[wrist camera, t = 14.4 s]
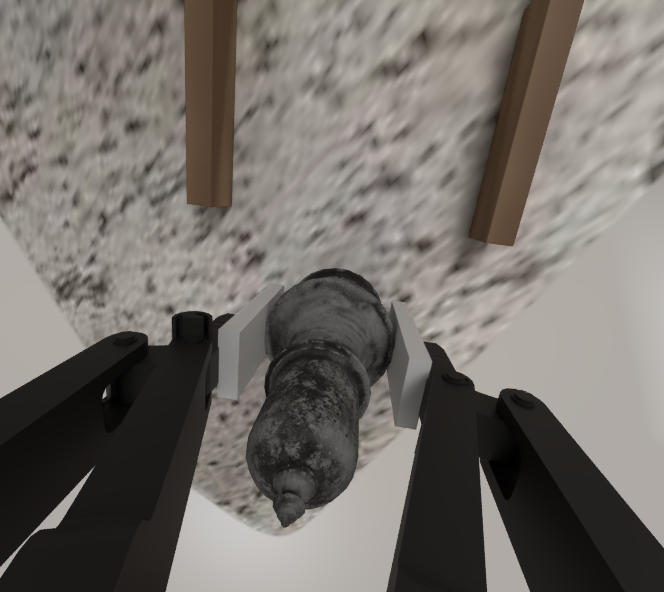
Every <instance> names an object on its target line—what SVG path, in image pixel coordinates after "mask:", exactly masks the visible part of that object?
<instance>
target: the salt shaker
mask: <svg viewBox="0 0 664 592" xmlns="http://www.w3.org/2000/svg"><path fill="white" fill-rule="evenodd" d="M394 343H395V341H394V328H393V326H392V323H391V320H390V317H389V315H388V312H387V311H386V310H385V308H384V307H383V305H382V304H381V301H380V299H379V296H378V294H377V292H376V291H375V289H374V288H373V287H372V285H371V284H370V283H369V282H368V281H366V280H365V279H364V278H363V277H361V276H360V275H358V274H356V273H353V272H351V271H349V270H344V269H338V268H332V269H323V270H320V271H317V272H315V273H312V274H310V275H309V276H307V277H306V278H305V279H303V280H302V281H301V282H300V283H299V284H297V285H295V286H293V287H292V288H291V289H289V290H288V291H287V292H285V293H284V294H282V295H281V297H280V298H279V299H278V300H277V302H276V303H275V304H274V306H273V307H272V308H271V311H270V313H269V316H268V318H267V321H266V327H265V346H266V351H267V355H268V357H269V359H270V361H271V363H270V366H269V368H268V370H267V373H266V376H265V386H264V388H265V394H266V400H265V402H264V404H263V406H262V408H261V410H260V412H259V414H258V416H257V419H256V421H255V423H254V425H253V427H252V429H251V432H250V434H249V436H248V442H247V450H246V460H247V465H248V469H249V472H250V474H251V476H252V478H253V480H254V482H255V484H256V486H257V487H258V489H259V490H260V491H261V492H262V493H263V494H264V495H265V496H266V497H268V498H269V499H271V500H272V501H273V508H274V510H275V512H276V514H277V517H278V519H279V521H280V522H281V525H282V526H283V527H288V526H289V524H292V523H294V522H295V521H296V520H297V519H298V518H300V517H301V516H302V515H303V514H304V513H305V509H313V508H318V507H322V506H324V505H326V504H327V503H329V502H331V501H333V500H334V499H335V498H336V497H338V496H339V495H340V494H341V493H342V492H343V491H344V490H345V489H346V488H347V487H348V485H349V483H350V482H351V480H352V478H353V476H354V472H355V469H356V465H357V460H358V432H359V419H360V418H361V417H362V416H363V414H364V412H365V411H366V409H367V407H368V404H369V399H370V395H371V390H370V387H371V386H373V385H374V384H375V383H376V382H377V381H378V380H379V379H380V378H381V377H382V376H383V375H384V373H385V371H386V369H387V368H388V366H389V364H390V362H391V359H392V354H393V349H394Z"/></svg>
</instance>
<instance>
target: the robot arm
mask: <svg viewBox="0 0 664 592" xmlns="http://www.w3.org/2000/svg"><path fill="white" fill-rule="evenodd" d="M282 294H284V285H278V284H271V283H270V284H269V285H268V286H267V287H266V288H265V289H264V290H263V291H261V292H260V293H259V294H258V295H257V296H256V297H255V298H253V299H252V300H251V301H250V302H249V303H248V304H247V305H246V306H244V307H243V308H242V309H241V310H240V311H239V312H238V313H236V314H229V313H227V314H224V315H221V316H219V317H217V318H216V319H215V320H213V322H212V316H211V315H210V314H209V313H205V312H199V311H187V312H181V313H178V314H175V315H174V316H173V317H172V340H171V342H170V344H169V345H164V346H148V337H147V335H145V334H143V333H139V332H132V331H126V332H120V333H118V334H113V335H111V336H108V337H106V338H104V339H103V340H101V341H99V342H97V343H96V344H94V345H92V346H90V347H89V348H87V349H85V350H83V351H82V352H80V353H78V354H77V355H75V356H73V357H71V358H70V359H68V360H66V361H64V362H63V363H61V364H59V365H58V366H56V367H54V368H52V369H51V370H49V371H47V372H45V373H44V374H42V375H40V376H38V377H37V378H35V379H33V380H32V381H30V382H28V383H26V384H25V385H23V386H21V387H19V388H18V389H16V390H14V391H13V392H11V393H9V394H7V395H6V396H4V397H2V398H0V566H2V564H3V563H4V562H5V561H6V560H7V559H8V558H9V557H10V556H11V555H12V554H13V553H14V552H15V551H16V550H17V548H18V547H19V546H20V545H21V544H22V543H23V542H24V541H25V540H26V539H27V538H28V537H29V536H30V535H31V533H32V532H33V531H34V530H35V529H36V528H37V527H38V526H39V525H40V524H41V523H42V522H43V520H45V518H46V517H47V516H48V515H49V514H50V513H51V512H52V511H53V510H54V509H55V508H56V507H57V506H58V505H59V504H60V503H61V501H62V500H63V499H64V498H65V497H66V496H67V495H68V494H69V493H70V491H72V490H73V489H74V488H75V486H76V485H77V484H78V483H79V482H80V481H81V480H82V479H83V478H84V477H85V476H86V475H87V473H89V472H90V470H91V469H92V468H93V467H94V466H95V467H94V469H93V470H92V472H91V474H90V476H89V477H88V479H87V480H86V482H85V484H84V485H83V487H82V489H81V490H80V492H79V493H78V495H77V497H76V498H75V500H74V502H73V503H72V505H71V507H70V508H69V510H68V511H67V513H66V515H65V516H64V518H63V520H62V521H61V522H60V524H59V525H58V526H57V527H56V528H53V529H43V530H39V531H38V532H36V533H35V534H34V535H32V536H31V537H30V538H29V539H28V540H27V541H26V543H25V544H24V545H23V546H22V548H21V549H20V550H19V551H18V553H17V554H16V556H15V557H14V559H13V560H12V562H11V563H10V565H9V566H8V568H7V569H6V571H5V572H4V573H3V575H2V577H1V578H0V592H165V591H166V587H167V583H168V579H169V575H170V571H171V566H172V562H173V558H174V554H175V550H176V546H177V542H178V538H179V533H180V530H181V525H182V521H183V517H184V513H185V509H186V505H187V500H188V496H189V492H190V488H191V484H192V480H193V476H194V472H195V468H196V464H197V460H198V455H199V451H200V447H201V443H202V439H203V435H204V431H205V427H206V422H207V418H208V414H209V410H210V406H211V397H212V390H213V389H214V387H215V386H216V385H217V397H219V398H225V399H232V400H238V398H239V396H240V395H241V393H242V392H243V390H244V389H245V387H246V385H247V384H248V382H249V381H250V379H251V377H252V376H253V374H254V373H255V371H256V370H257V368H258V366H259V365H260V363H261V362H262V360H263V358H264V357H265V355H266V354H267V351H266V346H265V327H266V321H267V318H268V316H269V313H270V311H271V308H272V307H273V306H274V304H275V303H276V302H277V300H278V299H279V298H280V297H281V295H282ZM389 317H390V320H391V323H392V326H393V328H394V341H395V343H394V349H393V354H392V359H391V362H390V364H389V366H388V368H387V376H388V382H389V389H390V396H391V403H392V409H393V416H394V423H395V426H398V427H404V428H411V429H416V427H417V424H418V419H419V417H420V420H421V424H422V425H421V429H420V432H419V437H418V441H417V445H416V449H415V456H414V461H413V466H412V471H411V476H410V481H409V485H408V490H407V496H406V500H405V505H404V510H403V515H402V520H401V524H400V529H399V534H398V539H397V544H396V549H395V553H394V558H393V563H392V568H391V573H390V578H389V582H388V587H387V592H487V584H486V568H485V552H484V535H483V518H482V503H481V486H480V469H479V457H480V463H481V466H482V469H483V471H484V474H485V476H486V479H487V481H488V484H489V486H490V489H491V492H492V494H493V497H494V500H495V502H496V505H497V507H498V510H499V512H500V515H501V518H502V520H503V523H504V525H505V528H506V531H507V533H508V536H509V538H510V541H511V543H512V546H513V549H514V551H515V554H516V556H517V559H518V562H519V564H520V567H521V569H522V572H523V574H524V577H525V579H526V582H527V585H528V587H529V589H530V592H664V548H663V547H662V545H661V544H660V543H659V542H658V541H657V540H656V538H655V537H654V536H653V535H652V533H651V532H650V531H649V530H648V529H647V527H646V526H645V525H644V524H643V523H642V522H641V520H640V519H639V518H638V516H637V515H636V514H635V513H634V512H633V510H632V509H631V508H630V507H629V506H628V504H627V503H626V502H625V501H624V499H623V498H622V497H621V496H620V495H619V494H618V492H617V491H616V490H615V489H614V487H613V486H612V485H611V484H610V483H609V481H608V480H607V479H606V478H605V476H604V475H603V474H602V473H601V472H600V470H599V469H598V468H597V467H596V466H595V464H594V463H593V462H592V461H591V459H590V458H589V457H588V456H587V455H586V454H585V452H584V451H583V450H582V449H581V448H580V446H579V445H578V444H577V443H576V441H575V440H574V439H573V438H572V436H571V435H570V434H569V433H568V432H567V431H566V429H565V428H564V427H563V426H562V424H561V423H560V422H559V421H558V420H557V418H556V417H555V416H554V415H553V413H552V412H551V411H550V410H549V409H548V407H547V406H546V405H545V404H544V403H543V402H542V401H541V400H539V399H538V398H536V397H535V396H533V395H532V394H530V393H528V392H527V393H526V391H523V390H517V389H509V388H507V389H503V390H502V391H501V392H500V395H499V398H494V397H491V396H488V395H485V394H482V393H479V392H477V391H475V388H474V384H473V381H472V380H471V379H470V378H468V377H467V376H465V375H464V374H462V373H459V372H456V370H455V369H454V367H453V365H452V363H451V361H450V360H449V358H448V356H447V354H446V353H445V351H444V349H443V348H441V347H440V346H439V345H438V344H436V343H430V342H423V340H422V338H421V335H420V333H419V331H418V329H417V326H416V324H415V322H414V320H413V317H412V315H411V313H410V310H409V308H408V306H407V304H406V303H405V302H398V301H392V302H391V308H390V313H389ZM105 389H106V394H107V396H106V397H105V398H104V399H102V397H103V393H104V391H105Z"/></svg>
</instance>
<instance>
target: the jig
mask: <svg viewBox="0 0 664 592" xmlns="http://www.w3.org/2000/svg"><path fill="white" fill-rule="evenodd" d="M583 3H584V0H533V1H532V2H531V3H530V4H529V5H528V6H527V8H526V9H525V10H524V15H523V19H522V23H521V27H520V31H519V35H518V39H517V43H516V47H515V51H514V55H513V59H512V63H511V67H510V72H509V76H508V80H507V84H506V88H505V92H504V96H503V100H502V104H501V108H500V112H499V116H498V120H497V124H496V128H495V133H494V137H493V141H492V145H491V149H490V153H489V157H488V161H487V165H486V169H485V173H484V177H483V181H482V185H481V190H480V194H479V198H478V202H477V206H476V210H475V214H474V218H473V222H472V226H471V230H470V234H469V237H470V238H473V239H476V240H479V241H482V242H485V243H491V244H498V245H506V246H513V245H514V242H515V238H516V235H517V231H518V228H519V224H520V221H521V217H522V214H523V210H524V207H525V204H526V200H527V197H528V193H529V190H530V186H531V183H532V179H533V176H534V172H535V169H536V165H537V162H538V159H539V155H540V152H541V148H542V145H543V141H544V138H545V134H546V131H547V127H548V124H549V120H550V117H551V114H552V110H553V107H554V103H555V100H556V96H557V93H558V89H559V86H560V82H561V79H562V76H563V72H564V69H565V65H566V62H567V58H568V55H569V51H570V48H571V44H572V41H573V37H574V34H575V31H576V27H577V24H578V20H579V17H580V13H581V10H582V6H583ZM184 10H185V89H186V167H187V204H193V205H200V206H208V207H226V206H232V176H233V139H234V102H235V65H236V28H237V0H184Z"/></svg>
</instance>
